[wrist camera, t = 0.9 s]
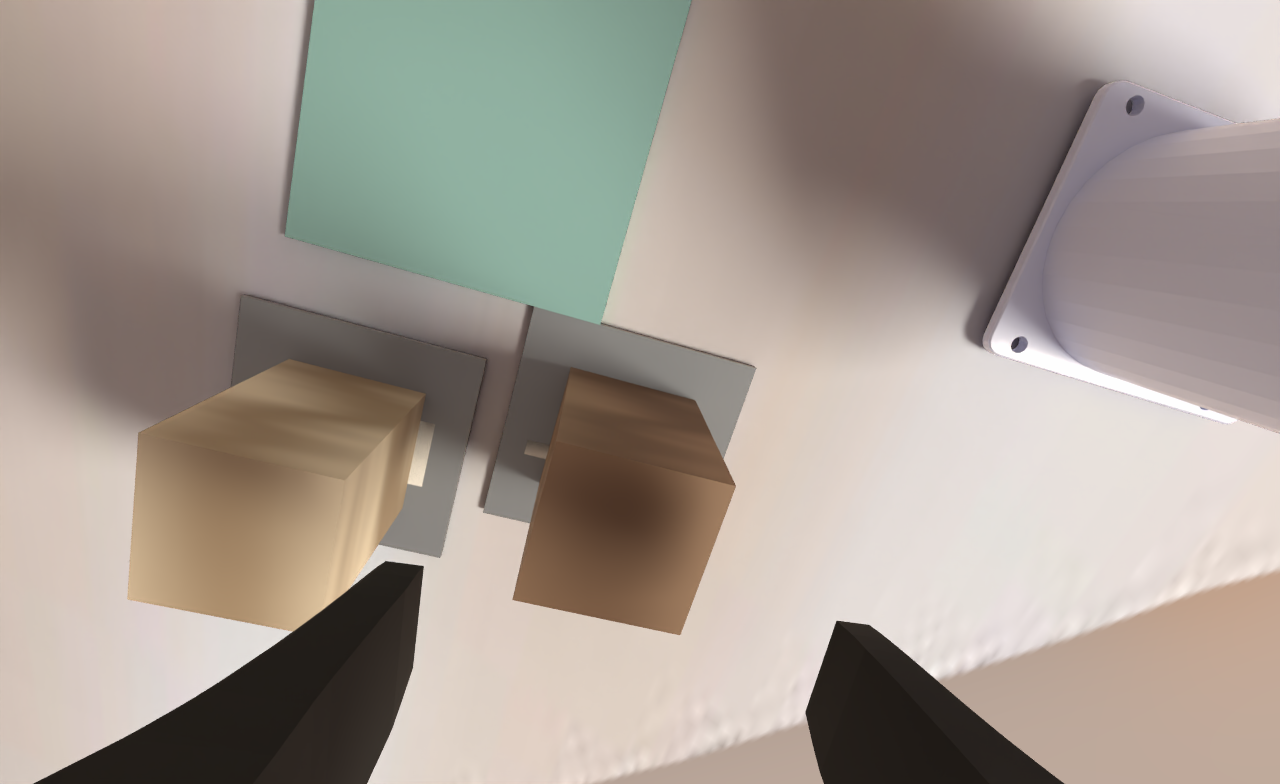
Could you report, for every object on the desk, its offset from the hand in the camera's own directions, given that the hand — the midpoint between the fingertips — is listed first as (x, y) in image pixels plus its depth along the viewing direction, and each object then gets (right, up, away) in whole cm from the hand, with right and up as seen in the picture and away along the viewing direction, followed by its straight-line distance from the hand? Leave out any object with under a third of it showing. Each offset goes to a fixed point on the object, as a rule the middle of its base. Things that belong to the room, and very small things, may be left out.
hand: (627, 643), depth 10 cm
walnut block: (-1, +3, +9) cm, 9 cm away
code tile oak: (-9, +3, +8) cm, 12 cm away
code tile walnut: (-1, +3, +9) cm, 9 cm away
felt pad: (-4, +12, +6) cm, 14 cm away
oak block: (-9, +3, +8) cm, 12 cm away
